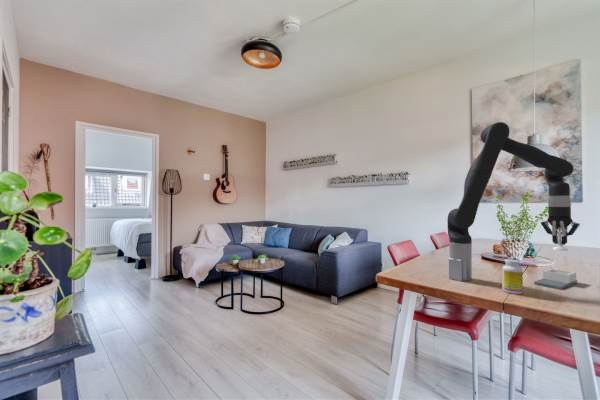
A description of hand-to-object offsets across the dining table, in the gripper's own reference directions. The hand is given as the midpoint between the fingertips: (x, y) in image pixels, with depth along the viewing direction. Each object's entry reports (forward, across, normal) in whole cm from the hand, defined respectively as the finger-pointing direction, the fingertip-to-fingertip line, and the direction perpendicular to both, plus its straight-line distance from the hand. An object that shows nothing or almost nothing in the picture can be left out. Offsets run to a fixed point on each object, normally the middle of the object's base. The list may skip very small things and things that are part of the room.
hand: (559, 243), depth 129 cm
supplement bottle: (+17, -5, -34) cm, 38 cm away
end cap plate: (+17, 0, -4) cm, 18 cm away
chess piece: (+3, 0, 0) cm, 3 cm away
